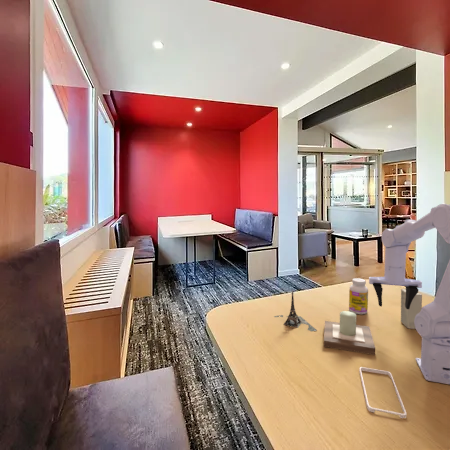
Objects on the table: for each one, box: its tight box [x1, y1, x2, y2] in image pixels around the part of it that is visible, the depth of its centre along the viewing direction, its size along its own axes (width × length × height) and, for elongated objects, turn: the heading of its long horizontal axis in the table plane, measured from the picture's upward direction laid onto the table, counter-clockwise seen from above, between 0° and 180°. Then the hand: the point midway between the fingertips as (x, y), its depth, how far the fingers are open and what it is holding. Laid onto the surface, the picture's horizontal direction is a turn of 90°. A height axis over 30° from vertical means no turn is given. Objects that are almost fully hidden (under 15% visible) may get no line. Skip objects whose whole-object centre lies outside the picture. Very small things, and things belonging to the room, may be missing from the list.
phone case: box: [359, 366, 407, 419], centre depth 65 cm, size 7×1×15 cm
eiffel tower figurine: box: [273, 289, 317, 332], centre depth 100 cm, size 15×10×13 cm
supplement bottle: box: [348, 277, 369, 315], centre depth 108 cm, size 7×7×13 cm
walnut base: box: [323, 320, 376, 356], centre depth 89 cm, size 14×14×2 cm
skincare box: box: [400, 288, 423, 330], centre depth 96 cm, size 6×4×12 cm
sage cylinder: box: [339, 310, 357, 336], centre depth 88 cm, size 5×5×6 cm
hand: (393, 306), depth 90 cm, fingers open, 7 cm apart
